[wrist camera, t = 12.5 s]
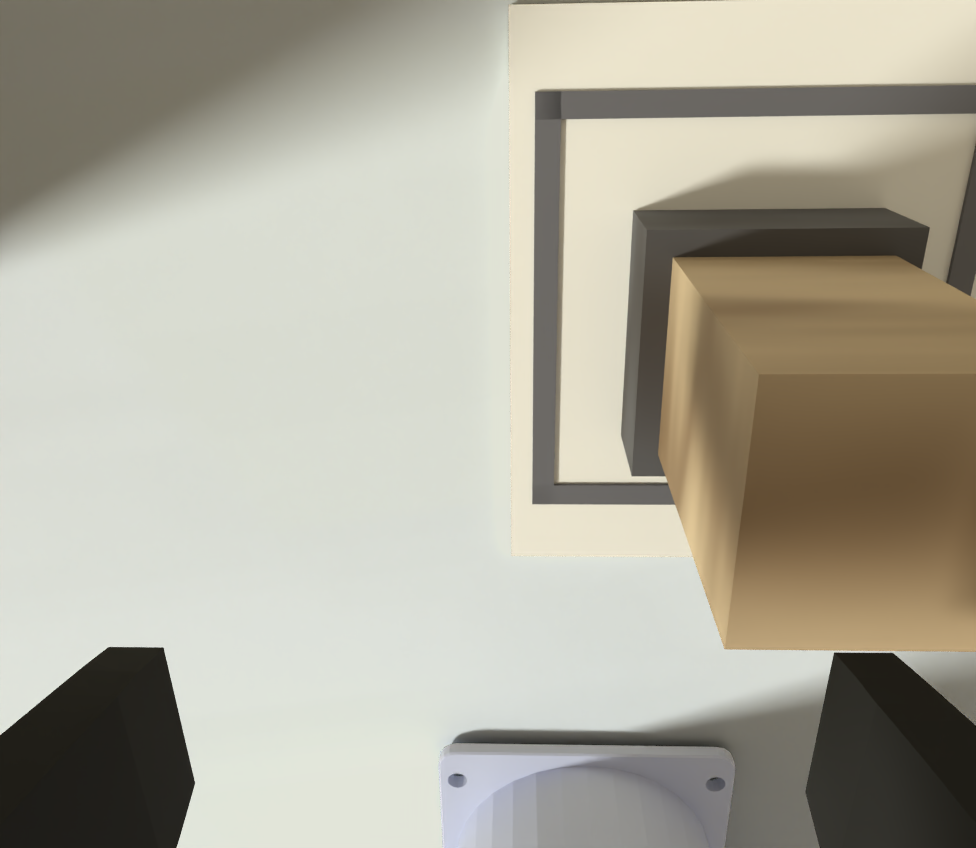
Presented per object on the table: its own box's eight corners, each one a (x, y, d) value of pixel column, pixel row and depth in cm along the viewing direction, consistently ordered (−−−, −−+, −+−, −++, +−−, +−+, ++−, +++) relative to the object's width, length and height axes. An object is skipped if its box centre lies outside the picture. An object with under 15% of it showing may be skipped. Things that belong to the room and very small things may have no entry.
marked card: (926, 553, 20) (931, 560, 20) (511, 551, 20) (511, 558, 20) (1057, -6, 15) (1067, -7, 15) (508, 5, 16) (508, 4, 15)
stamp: (845, 435, 19) (1053, 681, 11) (621, 435, 19) (685, 678, 12) (885, 207, 17) (1170, 331, 9) (633, 210, 17) (720, 333, 10)
